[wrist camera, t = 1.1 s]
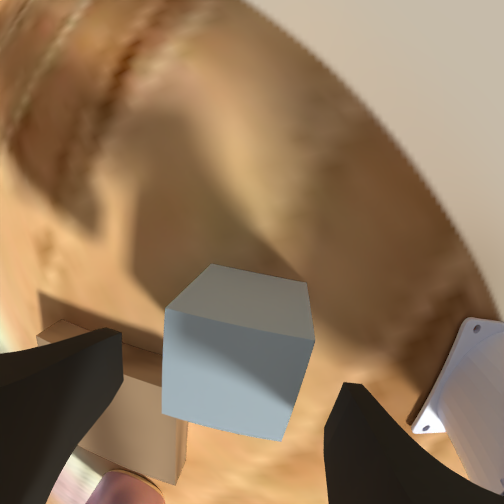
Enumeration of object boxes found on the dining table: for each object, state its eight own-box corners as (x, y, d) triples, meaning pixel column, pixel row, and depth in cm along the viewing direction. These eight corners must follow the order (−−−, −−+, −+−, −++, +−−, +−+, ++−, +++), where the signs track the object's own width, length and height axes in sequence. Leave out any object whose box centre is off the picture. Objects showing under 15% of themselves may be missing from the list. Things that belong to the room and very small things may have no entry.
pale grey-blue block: (306, 282, 14) (315, 340, 8) (286, 363, 14) (281, 441, 9) (211, 263, 14) (165, 307, 9) (201, 345, 15) (161, 413, 10)
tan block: (195, 360, 16) (177, 392, 13) (187, 455, 18) (175, 485, 15) (65, 317, 16) (36, 335, 13) (81, 414, 18) (62, 436, 15)
